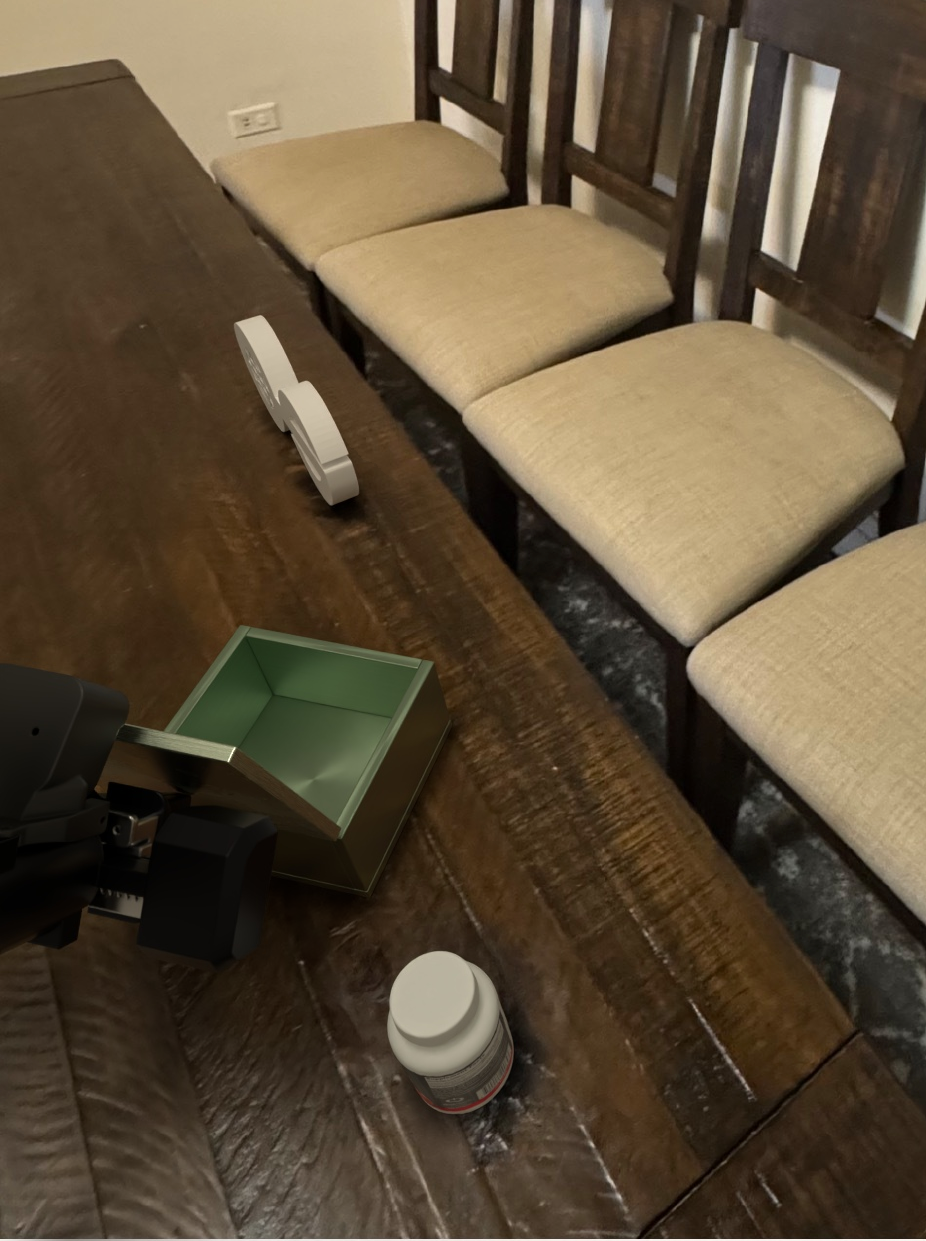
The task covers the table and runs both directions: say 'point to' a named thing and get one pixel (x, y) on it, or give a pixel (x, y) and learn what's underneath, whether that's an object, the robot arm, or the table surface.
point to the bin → (327, 741)
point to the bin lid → (210, 778)
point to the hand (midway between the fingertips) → (184, 803)
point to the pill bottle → (449, 1032)
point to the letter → (297, 410)
